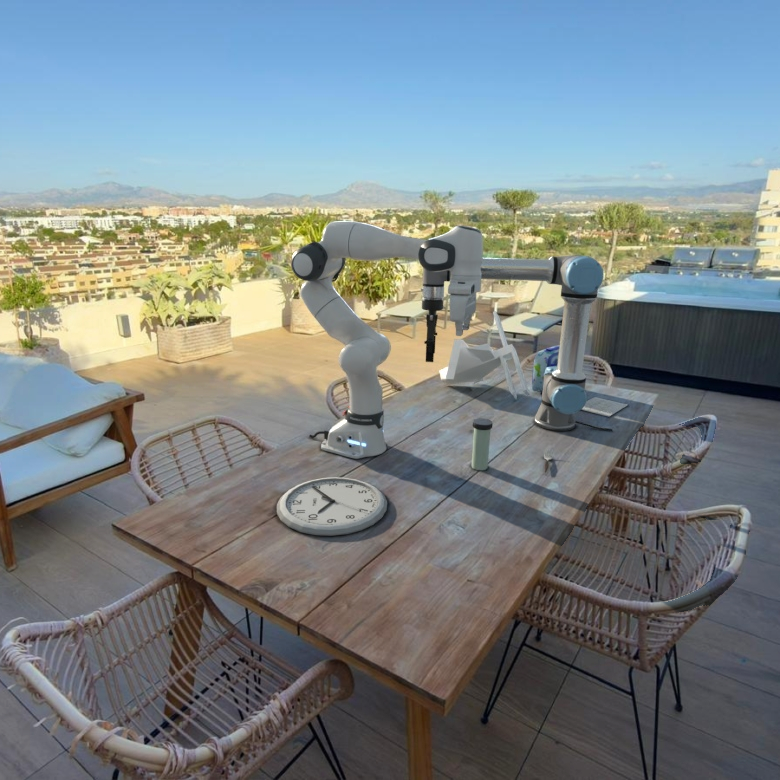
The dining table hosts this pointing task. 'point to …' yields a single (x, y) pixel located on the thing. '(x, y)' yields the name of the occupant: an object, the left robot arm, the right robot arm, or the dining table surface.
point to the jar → (480, 449)
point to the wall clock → (331, 506)
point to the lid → (482, 424)
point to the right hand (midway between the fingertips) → (430, 357)
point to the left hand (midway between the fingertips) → (462, 332)
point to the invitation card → (603, 406)
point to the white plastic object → (482, 362)
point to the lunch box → (543, 366)
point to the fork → (547, 459)
